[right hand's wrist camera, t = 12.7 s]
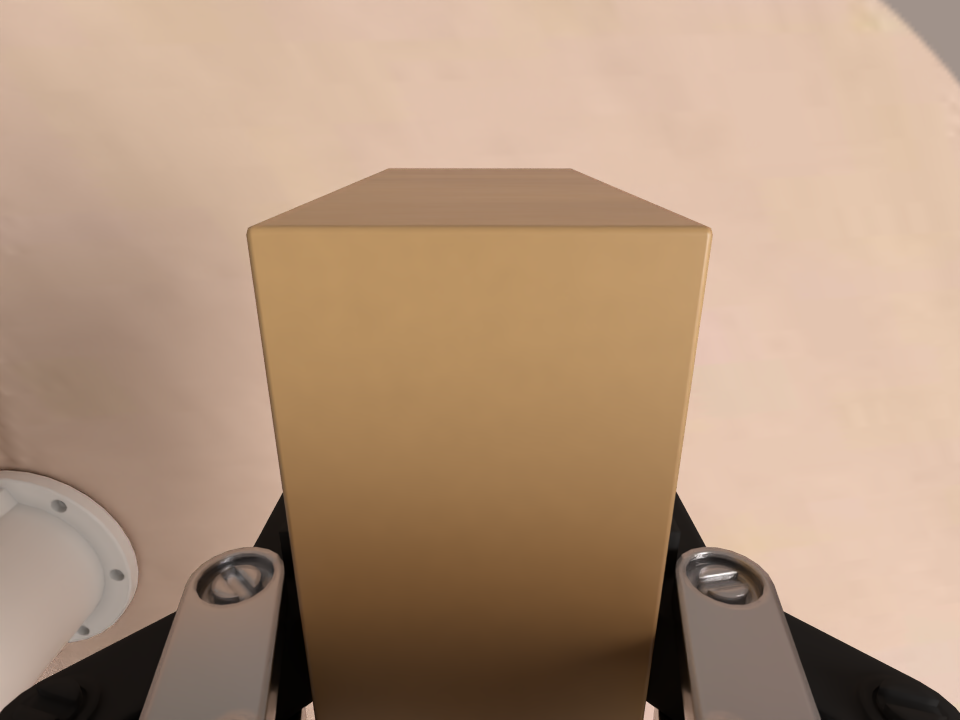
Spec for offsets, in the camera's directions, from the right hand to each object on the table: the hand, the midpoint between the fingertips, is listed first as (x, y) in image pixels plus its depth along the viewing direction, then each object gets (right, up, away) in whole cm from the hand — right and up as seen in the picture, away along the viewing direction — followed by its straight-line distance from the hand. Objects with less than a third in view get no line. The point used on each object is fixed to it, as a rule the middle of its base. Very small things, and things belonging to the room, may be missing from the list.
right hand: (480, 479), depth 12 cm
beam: (0, -23, +12) cm, 27 cm away
